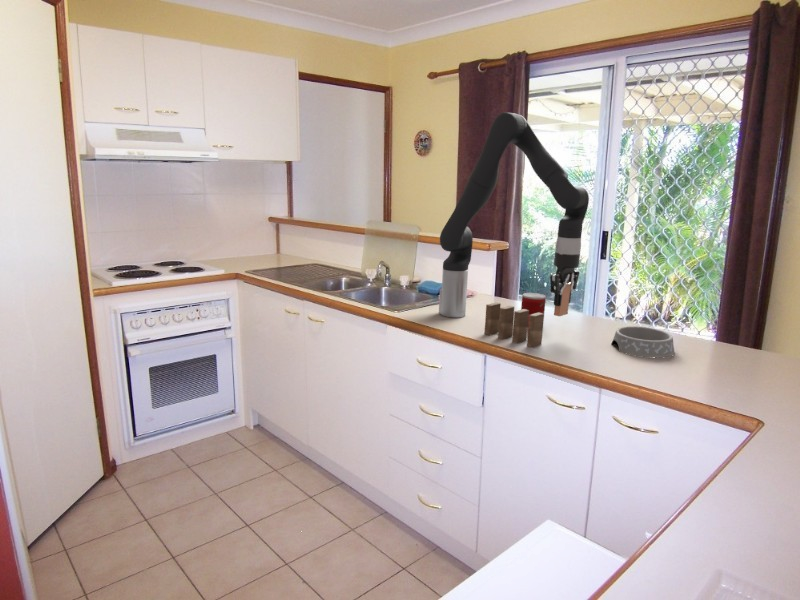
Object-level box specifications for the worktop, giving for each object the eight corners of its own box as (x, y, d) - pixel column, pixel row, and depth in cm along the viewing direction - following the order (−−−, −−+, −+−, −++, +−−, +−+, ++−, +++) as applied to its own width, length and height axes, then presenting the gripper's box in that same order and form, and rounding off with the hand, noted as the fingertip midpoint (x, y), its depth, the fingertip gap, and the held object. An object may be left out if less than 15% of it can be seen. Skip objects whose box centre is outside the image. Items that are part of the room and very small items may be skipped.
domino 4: (526, 346, 168) (529, 314, 166) (535, 343, 171) (538, 312, 169) (532, 347, 167) (535, 316, 164) (541, 344, 170) (544, 313, 168)
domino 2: (497, 337, 176) (500, 307, 174) (507, 335, 179) (509, 305, 177) (503, 339, 174) (505, 309, 172) (512, 336, 178) (514, 306, 175)
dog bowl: (626, 358, 160) (628, 341, 159) (603, 339, 178) (605, 324, 177) (684, 360, 160) (686, 342, 159) (656, 341, 178) (658, 325, 177)
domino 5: (553, 315, 173) (557, 284, 171) (562, 312, 177) (565, 282, 174) (559, 316, 172) (562, 285, 170) (567, 314, 175) (571, 283, 173)
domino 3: (512, 341, 172) (514, 311, 170) (521, 338, 175) (523, 308, 173) (517, 343, 171) (519, 312, 168) (526, 340, 174) (529, 310, 172)
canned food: (542, 329, 187) (545, 298, 184) (518, 327, 189) (521, 296, 187) (544, 324, 194) (546, 294, 191) (521, 321, 196) (523, 291, 194)
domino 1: (484, 333, 180) (486, 304, 177) (493, 331, 183) (495, 302, 181) (489, 335, 178) (491, 305, 176) (498, 332, 182) (500, 303, 179)
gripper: (568, 248, 177) (563, 299, 181) (544, 251, 167) (539, 305, 171) (590, 251, 172) (583, 303, 176) (566, 255, 162) (560, 310, 166)
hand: (561, 304), depth 174 cm, fingers closed on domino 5, 5 cm apart
